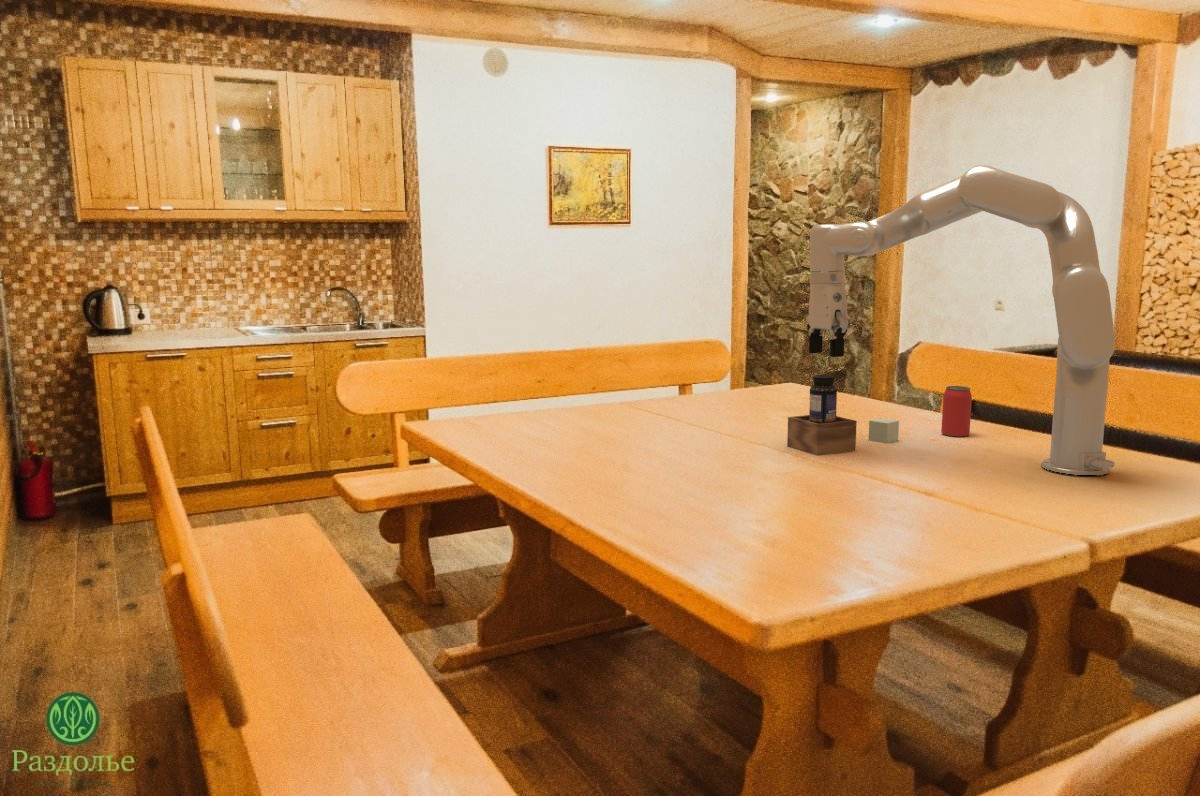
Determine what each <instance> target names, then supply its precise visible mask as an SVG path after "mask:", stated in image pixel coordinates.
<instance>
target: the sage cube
mask: <svg viewBox="0 0 1200 796" xmlns="http://www.w3.org/2000/svg"><path fill="white" fill-rule="evenodd" d="M899 424H900V421H899V420H897V419H888V418H883V417H882V418H881V417H880V418H875V419H871V420H869V421H868V441H871V442H876V443H882V444H890V443H894V442H898V441H899V430H900V428H899V427H900V426H899Z"/></svg>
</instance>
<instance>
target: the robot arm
mask: <svg viewBox="0 0 1200 796" xmlns="http://www.w3.org/2000/svg"><path fill="white" fill-rule="evenodd" d="M981 212H985V213H988V214H991V215H994V216H996V217H1000V218H1003V219H1006V220H1009V221H1012V222H1015V223H1018V224H1022V225H1024V226H1025V227H1028V228H1031V229H1038V230H1040V231H1041V232H1042V233H1043V235H1044V236H1045V238H1046V241H1047V247H1048V253H1049V259H1050V265H1051V267H1050V268H1051V274H1052V275H1051V277H1052V287H1051V288H1052V289H1051V292H1052V297H1053V302H1054V310H1055V317H1056V323H1057V325H1056V326H1057V332H1058V338H1057V346H1056V370H1055V371H1056V374H1055V389H1054V396H1053V397H1054V399H1053V410H1052V411H1053V412H1052V422H1051V423H1052V426H1051V427H1052V428H1051V439H1050V450H1049V451H1050V452H1049V457H1048V458H1044V459H1042V460H1041V462H1040V463H1041V464H1040V466H1042V467H1041V468H1042V469H1044V468H1045V469H1044V470H1046V469H1047V470H1046V471H1049V470H1051V471H1050V472H1052V471H1055V472H1054V473H1056V472H1060V473H1059V474H1061V473H1067V474H1066V475H1068V474H1077V475H1101V476H1104V475H1103V474H1106V475H1108V474H1109V473H1110V469H1112V468H1114V467H1115V461H1114V460H1109V459H1106V458H1107V452H1106V451H1103V446H1104V437H1105V436H1104V435H1105V433H1104V432H1105V423H1106V408H1107V398H1108V389H1109V376H1110V375H1109V374H1110V358H1112V357H1113V354H1114V351H1115V347H1116V337H1115V336H1116V335H1115V325H1114V320H1113V319H1114V318H1113V311H1112V310H1113V309H1112V303H1111V296H1110V289H1109V285H1108V282H1107V279H1106V277H1105V276H1104V274H1103V272H1102V271H1101V268H1100V260H1099V253H1098V249H1097V248H1098V247H1097V243H1096V236H1095V232H1094V227H1093V224H1092V223H1093V222H1092V221H1091V217H1090V216H1089V214H1088V212H1087V210H1086V209H1085V208H1084V207H1083V205H1081V204H1080V203H1079V202H1078V201H1077V200H1075V199H1074V198H1073V197H1071V196H1070V195H1068V194H1065V193H1064V192H1061V191H1059V190H1056V188H1055V187H1054V186H1051V185H1049V184H1047V183H1044V182H1042V181H1037V180H1035V179H1031V178H1028V177H1026V176H1025V177H1024V176H1021V175H1019V174H1015V173H1011V172H1008V171H1005V170H1001V169H999V168H996V167H993V166H990V165H986V164H985V165H984V164H983V165H976V166H974V167H971V168H970V169H968V170H967V171H965V172H964V173H963V175H961V176H958V177H955V178H953V179H951V180H950V181H946V182H945V183H942V184H940V185H938V186H935V187H932V188H930V189H928V190H925V191H922V192H920V193H918V194H916V195H915V196H913V197H912V198H910V199H909V200H908V202H906V203H905V204H903V205H901V206H900V207H898V208H896V209H894V210H893V211H890V212H888V213H886V214H883V215H881V216H879V217H876V218H874V219H871V220H869V221H856V222H855V221H854V222H849V223H843V224H840V223H839V224H838V223H825V224H824V223H822V224H816V225H815V224H814V225H813V226H812V227H811V230H810V234H809V235H810V239H809V240H810V242H809V243H810V244H809V246H810V249H809V250H810V251H809V252H810V253H809V254H810V255H809V257H810V258H809V263H810V265H809V287H810V292H809V303H808V304H809V305H808V314H807V315H806V317H805V321H806V325H807V326H806V328H807V330H808V331H807V335H808V353H809V354H822V352H823V335H821V334H822V333H823V331H829V334H830V336H831V338H830V339H829V356H830V357H831V358H839V357H841V358H842V357H844V355H845V339H846V334H847V331H848V329H847V328H848V326H849V319H848V303H847V301H848V300H847V293H846V288H845V287H846V286H845V256H852V257H854V256H855V257H869V256H873V255H876V254H878V253H880V252H883V251H885V250H888V249H891V248H894V247H896V246H898V245H900V244H902V243H905V242H908V241H910V240H912V239H915V238H918V237H921V236H924V235H928V234H929V233H931V232H933V231H934V232H935V231H936V230H939V229H941V228H944V227H946V226H949V225H951V224H953V223H956V222H958V221H961V220H963V219H966V218H968V217H971V216H973V215H976V214H979V213H981ZM1107 473H1108V474H1107ZM1077 475H1076V476H1077Z"/></svg>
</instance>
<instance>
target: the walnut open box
mask: <svg viewBox="0 0 1200 796" xmlns="http://www.w3.org/2000/svg"><path fill="white" fill-rule="evenodd" d="M857 422H858V421H857V420H855V419H850V418H847V417H842V416H838V415H836V422H830V423H820V424H818V423H814V422H810V421H809V414H806V415H796V416H788V417H787V439H786V440H787V444H786V446H787V447H789V448H792V449H796V450H799V451H802V452H805V453H809V454H812V455H815V456H822V455H830V454H839V453H846V452H847V453H848V452H855V451H856V447H857V446H856V443H857Z"/></svg>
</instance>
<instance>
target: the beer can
mask: <svg viewBox="0 0 1200 796" xmlns="http://www.w3.org/2000/svg"><path fill="white" fill-rule="evenodd" d="M970 389H971V387H968V386H964V385H962V386H961V385H950V386H949V385H948V386H946V387H945V390H944V392H943V395H942V410H941V411H942V413H941V429H940V430H941V433H942V435H943V436H946V437H951V436H952V438H953V437H954V438H965V437H968V436H969V435H970V433H971V432H970V431H971V417H972V415H971V413H972V400H973V398H972V397H973V396H972V392H971V390H970Z"/></svg>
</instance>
